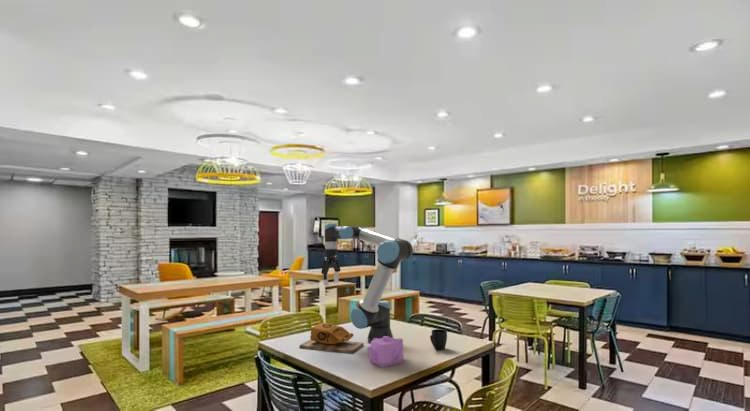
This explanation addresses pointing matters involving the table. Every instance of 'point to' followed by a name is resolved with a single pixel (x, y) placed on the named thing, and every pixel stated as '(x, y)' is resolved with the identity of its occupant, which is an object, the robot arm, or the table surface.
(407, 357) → the table surface
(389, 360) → the teakettle
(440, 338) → the mug
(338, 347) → the walnut board
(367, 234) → the robot arm
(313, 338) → the coffee package
